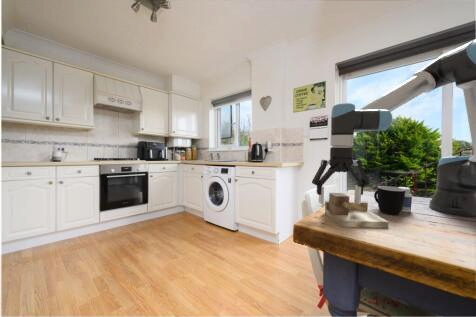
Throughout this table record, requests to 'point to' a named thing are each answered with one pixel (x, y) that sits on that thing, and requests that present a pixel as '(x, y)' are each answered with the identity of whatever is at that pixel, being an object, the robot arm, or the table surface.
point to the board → (357, 217)
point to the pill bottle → (407, 200)
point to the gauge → (339, 204)
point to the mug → (390, 199)
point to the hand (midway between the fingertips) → (339, 203)
